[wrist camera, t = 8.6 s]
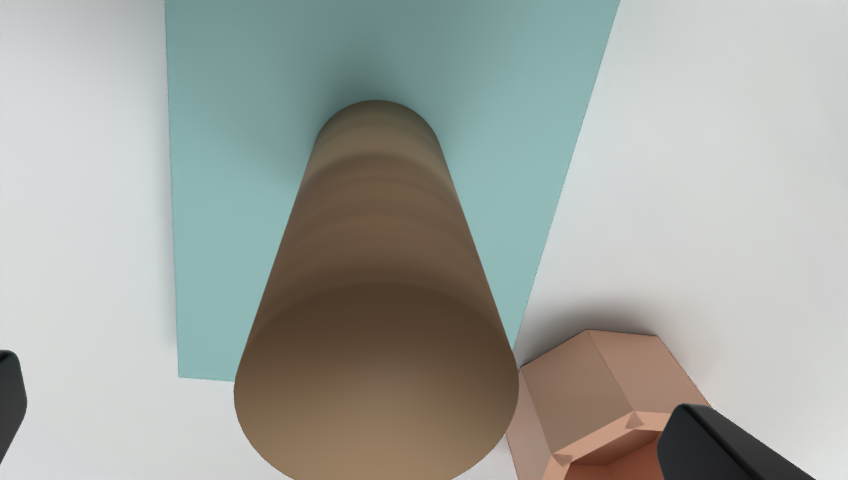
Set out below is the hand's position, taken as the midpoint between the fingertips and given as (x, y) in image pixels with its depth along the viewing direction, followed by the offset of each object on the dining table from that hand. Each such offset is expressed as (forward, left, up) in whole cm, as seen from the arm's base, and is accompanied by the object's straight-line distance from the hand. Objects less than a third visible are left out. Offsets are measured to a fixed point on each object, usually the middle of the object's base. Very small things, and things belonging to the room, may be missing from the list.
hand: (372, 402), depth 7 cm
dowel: (0, 0, -10) cm, 10 cm away
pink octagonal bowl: (-10, -11, -12) cm, 19 cm away
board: (0, 0, -12) cm, 12 cm away
